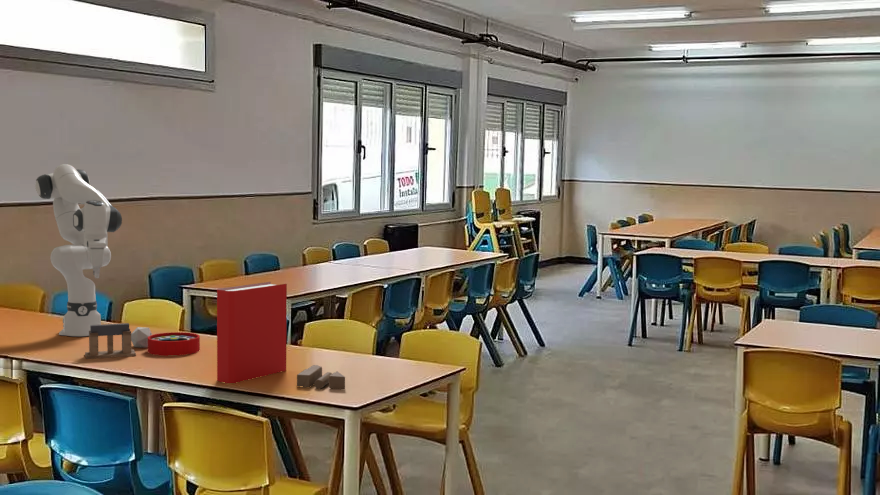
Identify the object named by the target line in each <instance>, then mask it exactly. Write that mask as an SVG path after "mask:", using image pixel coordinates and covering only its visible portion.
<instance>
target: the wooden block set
mask: <svg viewBox="0 0 880 495" xmlns="http://www.w3.org/2000/svg"><path fill="white" fill-rule="evenodd" d="M313 384H314V385H313ZM326 385H328V389H329V388H334V389H333V390H341V389H345V390H346V376H345V375H343V374H342V373H340V372H339V371H335V372H333V373H332V372H330V371H327V372H326V373H324V374H323V367H322V366H321V365H318V364H313V365H311V366H310V367H308V368H305V369H303V370H302V371H301V372H299V373H298V374H297V375H296V387H297V386H303V387H302V388H306V387H310V386H311V387H312V386H314V387H315V389H317V388H321V389H324V387H325V386H326ZM311 387H310V388H311Z"/></svg>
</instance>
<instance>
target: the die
mask: <svg viewBox="0 0 880 495" xmlns="http://www.w3.org/2000/svg"><path fill="white" fill-rule="evenodd" d="M151 335H153V334H152V331H151V329H150V327H141V326H138V327H136V328H135V329H134V330H133V331H131V344H133V347H134V348H145V349H147V348H148V337H149V336H151Z"/></svg>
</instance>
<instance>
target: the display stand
mask: <svg viewBox="0 0 880 495" xmlns="http://www.w3.org/2000/svg"><path fill="white" fill-rule="evenodd" d="M131 334H132V331H131V328H129V331H123V335H121V349H118V350H114V335H110V336H106V338H107V339H106V340H107V343H106V347H107V350H102V351H101V350H100V351H99V336H98V333H90V331H89V336H88V338H89V340H88V345H89V346H88V348H89V350H88V351H85V352H84V355H85V356H84V357H85V359H86V360H89V359H92V360H93V359H107V358H123V357H136V355H137V354H136V351H135V349H133V348H132V341H131Z"/></svg>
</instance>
